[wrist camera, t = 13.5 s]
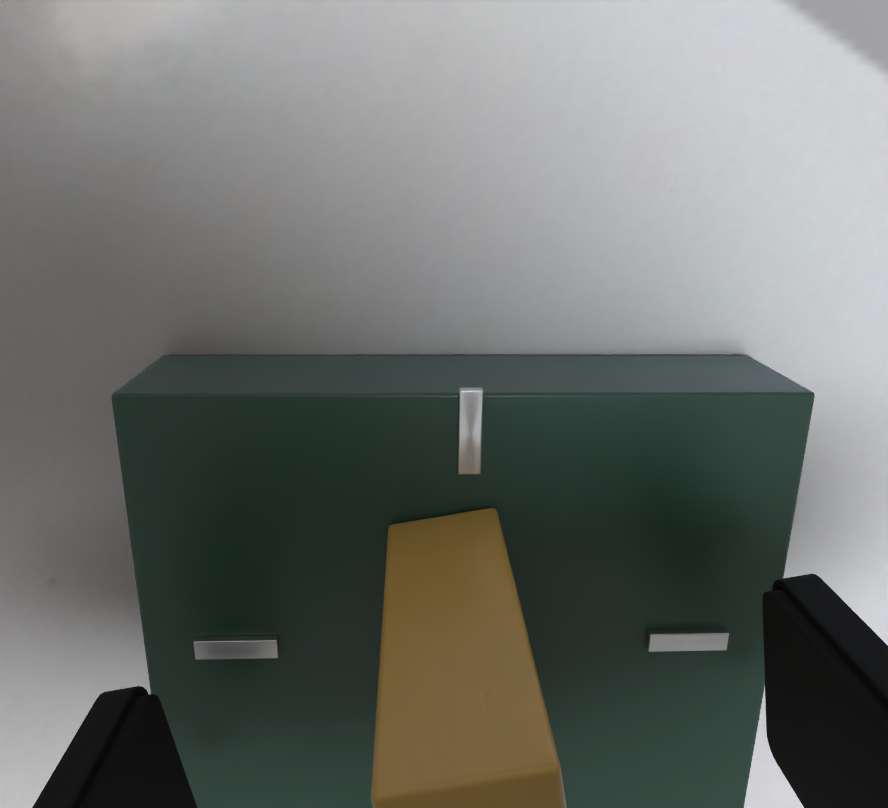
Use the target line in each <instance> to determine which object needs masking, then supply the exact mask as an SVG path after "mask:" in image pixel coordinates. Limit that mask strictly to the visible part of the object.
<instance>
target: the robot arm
mask: <svg viewBox="0 0 888 808" xmlns="http://www.w3.org/2000/svg"><path fill="white" fill-rule="evenodd" d="M762 608H763V637H764V666H765V696H766V725H767V738H768V743H769V746H770V749H771V752H772V754H773V757H774V759H775V760H776V762H777V764H778V766H779V767H780V769H781V770H782V772H783V774H784V775H785V777H786V779H787V780H788V782H789V784H790V785H791V787H792V788H793V790H794V792H795V793H796V795H797V797H798V798H799V800H800V801H801V803H802V805H803V806H804V808H888V646H887V645H886V644H885V643H884V642H883V641H882V640H881V639H880V638H879V637H878V636H877V635H876V633H875V632H874V631H873V630H872V629H871V628H870V627H869V626H868V625H867V624H866V623H865V622H864V621H863V620H862V619H861V618H860V617H859V616H858V615H857V614H856V613H855V612H854V611H853V610H852V609H851V608H850V607H849V606H848V605H847V604H846V603H845V602H844V601H843V600H842V599H841V598H840V597H839V596H838V595H837V594H836V593H835V592H834V591H833V590H832V589H831V588H830V587H829V586H828V585H827V584H826V583H825V582H824V581H823V580H822V579H821V578H820V577H818V576H817V575H815V574H808V575H802V576H796V577H790V578H784V579H778V580H776V581H774V583H773V586H772V591H767V592H765V593H764V594H763V598H762ZM33 808H197V805H196V802H195V799H194V796H193V793H192V791H191V788H190V785H189V782H188V779H187V776H186V773H185V770H184V768H183V765H182V762H181V759H180V756H179V753H178V750H177V747H176V744H175V742H174V739H173V736H172V733H171V730H170V727H169V724H168V721H167V719H166V716H165V713H164V710H163V707H162V704H161V701H160V699H159V697H158V696H157V695H155V694H150V695H148V692H147V691H146V690H145V689H144V688H143V687H140V686H138V687H132V688H126V689H120V690H114V691H108V692H104V693H102V694H100V696H99V697H98V698H97V699H96V701H95V703H94V704H93V706H92V708H91V709H90V711H89V713H88V715H87V716H86V718H85V720H84V721H83V723H82V725H81V726H80V728H79V730H78V731H77V733H76V735H75V737H74V738H73V740H72V742H71V743H70V745H69V747H68V748H67V750H66V752H65V753H64V755H63V757H62V759H61V760H60V762H59V764H58V765H57V767H56V769H55V770H54V772H53V774H52V776H51V777H50V779H49V781H48V782H47V784H46V786H45V787H44V789H43V791H42V792H41V794H40V796H39V798H38V799H37V801H36V803H35V804H34V806H33Z"/></svg>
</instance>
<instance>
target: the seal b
mask: <svg viewBox="0 0 888 808" xmlns="http://www.w3.org/2000/svg"><path fill="white" fill-rule="evenodd" d="M371 801H372V805H373V808H567V806H566V799H565V792H564V785H563V778H562V771H561V765H560V761H559V757H558V753H557V749H556V745H555V741H554V737H553V733H552V729H551V725H550V721H549V717H548V713H547V709H546V705H545V701H544V697H543V693H542V689H541V685H540V681H539V677H538V673H537V669H536V665H535V661H534V657H533V653H532V649H531V645H530V641H529V637H528V633H527V629H526V625H525V621H524V617H523V613H522V609H521V605H520V601H519V597H518V593H517V588H516V584H515V580H514V576H513V572H512V568H511V564H510V560H509V556H508V552H507V548H506V544H505V540H504V536H503V532H502V528H501V524H500V520H499V516H498V512H497V511H496V509H495V508H488V509H482V510H476V511H470V512H464V513H458V514H452V515H446V516H440V517H434V518H428V519H422V520H416V521H410V522H404V523H398V524H392V525H390V526H389V528H388V538H387V554H386V569H385V585H384V600H383V615H382V631H381V646H380V662H379V677H378V692H377V708H376V723H375V738H374V754H373V769H372V785H371Z"/></svg>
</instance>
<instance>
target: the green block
mask: <svg viewBox="0 0 888 808" xmlns="http://www.w3.org/2000/svg"><path fill="white" fill-rule="evenodd" d="M813 401H814V393H813V392H811V391H810V390H808V389H806V388H804V387H802V386H801V385H799V384H797V383H795V382H794V381H792V380H790V379H788V378H786V377H785V376H783V375H781V374H779V373H778V372H776V371H774V370H772V369H770V368H769V367H767V366H765V365H763V364H762V363H760V362H758V361H756V360H754V359H753V358H751V357H749V356H747V355H164V356H162V357H161V358H159V359H158V360H157V361H155V362H154V363H153V364H151V365H150V366H149V367H147V368H146V369H145V370H143V371H142V372H141V373H139V374H138V375H137V376H136V377H134V378H133V379H132V380H130V381H129V382H128V383H126V384H125V385H124V386H122V387H121V388H120V389H118V390H117V391H116V392H114V393H113V394H112V404H113V411H114V419H115V426H116V434H117V441H118V449H119V456H120V464H121V471H122V479H123V486H124V494H125V501H126V509H127V516H128V524H129V531H130V539H131V546H132V554H133V561H134V569H135V576H136V584H137V591H138V599H139V606H140V614H141V621H142V629H143V636H144V644H145V651H146V659H147V666H148V674H149V681H150V689H151V694H155V695H157V696H158V697H159V699H160V701H161V704H162V707H163V710H164V713H165V716H166V719H167V721H168V724H169V727H170V730H171V733H172V736H173V739H174V742H175V744H176V747H177V750H178V753H179V756H180V759H181V762H182V765H183V768H184V770H185V773H186V776H187V779H188V782H189V785H190V788H191V791H192V793H193V796H194V799H195V802H196V805H197V808H373V805H372V801H371V785H372V769H373V754H374V738H375V723H376V708H377V692H378V677H379V662H380V646H381V631H382V615H383V600H384V585H385V569H386V554H387V538H388V528H389V526H390V525H392V524H398V523H404V522H410V521H416V520H422V519H428V518H434V517H440V516H446V515H452V514H458V513H464V512H470V511H476V510H482V509H488V508H495V509H496V511H497V512H498V516H499V520H500V524H501V528H502V532H503V536H504V540H505V544H506V548H507V552H508V556H509V560H510V564H511V568H512V572H513V576H514V580H515V584H516V588H517V593H518V597H519V601H520V605H521V609H522V613H523V617H524V621H525V625H526V629H527V633H528V637H529V641H530V645H531V649H532V653H533V657H534V661H535V665H536V669H537V673H538V677H539V681H540V685H541V689H542V693H543V697H544V701H545V705H546V709H547V713H548V717H549V721H550V725H551V729H552V733H553V737H554V741H555V745H556V749H557V753H558V757H559V761H560V765H561V771H562V778H563V785H564V792H565V799H566V806H567V808H744V802H745V796H746V790H747V784H748V779H749V773H750V767H751V761H752V755H753V750H754V744H755V738H756V732H757V726H758V720H759V715H760V709H761V703H762V697H763V691H764V686H765V666H764V637H763V608H762V598H763V594H764V593H765V592H767V591H772V586H773V583H774V581H776V580H778V579H783V575H784V570H785V564H786V558H787V552H788V546H789V541H790V535H791V529H792V523H793V517H794V512H795V506H796V500H797V494H798V488H799V483H800V477H801V471H802V465H803V459H804V454H805V448H806V442H807V436H808V430H809V425H810V419H811V413H812V407H813Z"/></svg>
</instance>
